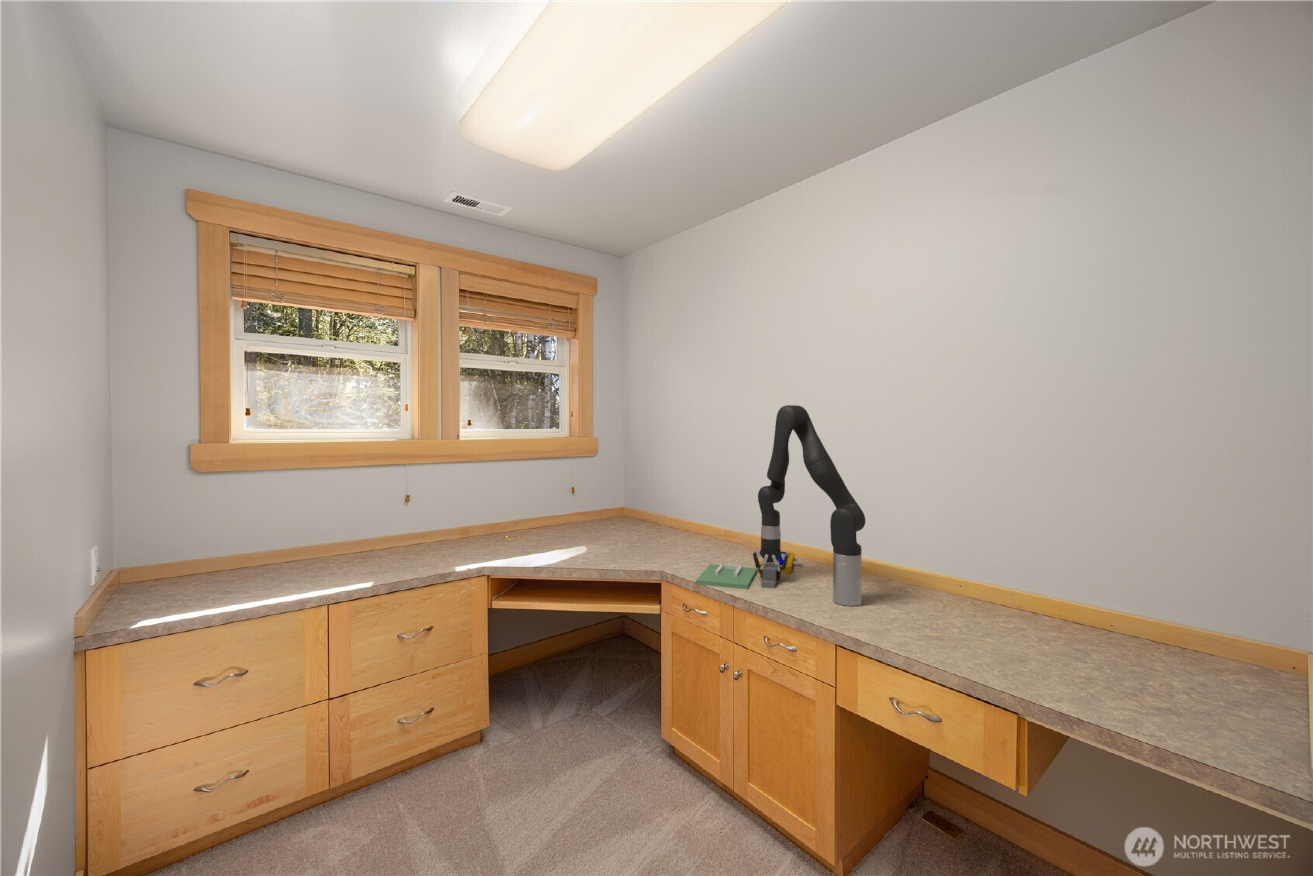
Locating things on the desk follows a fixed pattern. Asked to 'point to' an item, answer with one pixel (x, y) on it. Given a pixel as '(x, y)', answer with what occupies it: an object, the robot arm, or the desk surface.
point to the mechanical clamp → (789, 563)
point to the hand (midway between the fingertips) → (770, 579)
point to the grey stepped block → (769, 575)
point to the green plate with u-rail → (727, 576)
